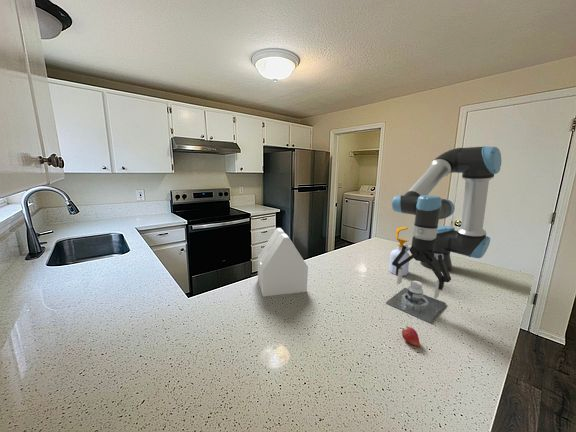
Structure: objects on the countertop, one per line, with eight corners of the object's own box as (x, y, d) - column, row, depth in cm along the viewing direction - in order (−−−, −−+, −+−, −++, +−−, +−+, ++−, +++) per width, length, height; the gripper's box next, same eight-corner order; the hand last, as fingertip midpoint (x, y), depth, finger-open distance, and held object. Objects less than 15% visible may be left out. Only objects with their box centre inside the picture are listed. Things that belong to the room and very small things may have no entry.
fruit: (413, 350, 70) (416, 335, 69) (397, 337, 75) (399, 323, 74) (423, 346, 71) (425, 332, 70) (406, 334, 77) (408, 320, 76)
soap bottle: (409, 276, 119) (416, 229, 114) (390, 274, 120) (396, 228, 116) (404, 269, 127) (410, 225, 122) (387, 267, 129) (392, 224, 124)
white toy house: (262, 296, 97) (263, 238, 92) (257, 279, 111) (257, 228, 107) (306, 291, 102) (309, 236, 97) (296, 276, 116) (298, 227, 111)
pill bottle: (405, 299, 96) (407, 278, 95) (419, 301, 95) (422, 280, 93) (407, 306, 91) (410, 285, 90) (422, 308, 90) (425, 287, 88)
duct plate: (404, 289, 106) (405, 283, 105) (445, 304, 94) (446, 297, 94) (386, 303, 94) (387, 296, 94) (430, 323, 83) (431, 315, 82)
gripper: (386, 231, 94) (381, 280, 98) (461, 248, 76) (451, 307, 80) (395, 228, 99) (389, 275, 103) (467, 243, 81) (457, 299, 85)
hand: (416, 289), depth 92 cm, fingers open, 13 cm apart
